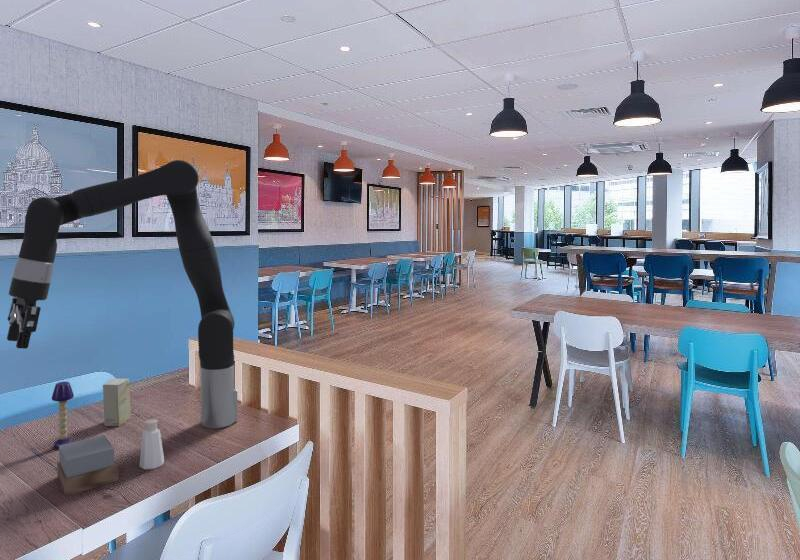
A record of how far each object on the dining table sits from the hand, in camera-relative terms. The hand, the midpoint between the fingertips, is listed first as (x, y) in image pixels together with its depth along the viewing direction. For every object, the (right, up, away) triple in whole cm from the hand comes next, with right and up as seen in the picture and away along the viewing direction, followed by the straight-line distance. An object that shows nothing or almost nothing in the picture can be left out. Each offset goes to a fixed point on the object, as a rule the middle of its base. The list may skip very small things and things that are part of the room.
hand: (16, 344), depth 118 cm
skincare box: (+11, -26, +23) cm, 36 cm away
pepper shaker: (+33, -29, 0) cm, 44 cm away
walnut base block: (+22, -30, -7) cm, 38 cm away
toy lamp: (+6, -27, +8) cm, 29 cm away
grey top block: (+22, -26, -8) cm, 35 cm away
